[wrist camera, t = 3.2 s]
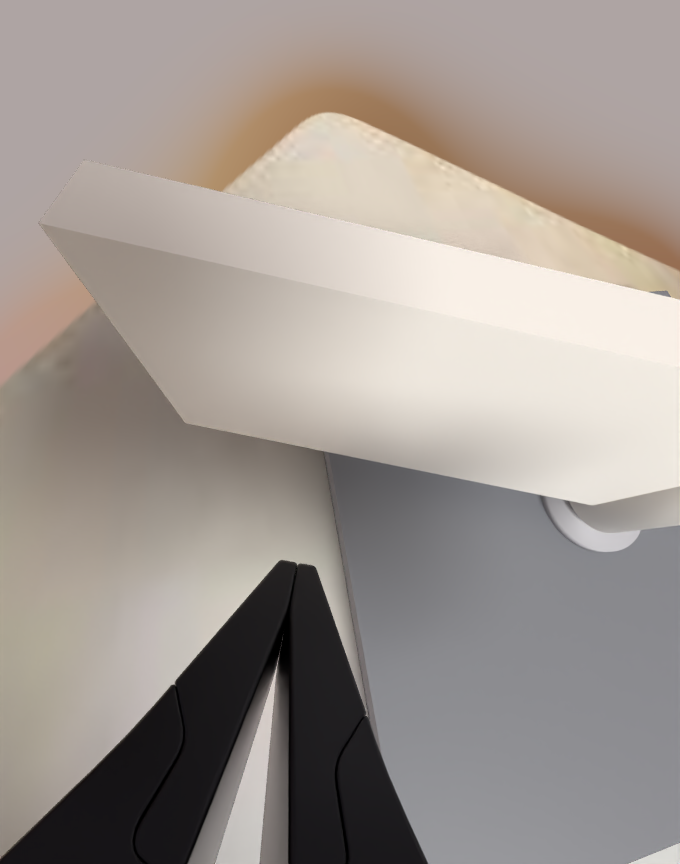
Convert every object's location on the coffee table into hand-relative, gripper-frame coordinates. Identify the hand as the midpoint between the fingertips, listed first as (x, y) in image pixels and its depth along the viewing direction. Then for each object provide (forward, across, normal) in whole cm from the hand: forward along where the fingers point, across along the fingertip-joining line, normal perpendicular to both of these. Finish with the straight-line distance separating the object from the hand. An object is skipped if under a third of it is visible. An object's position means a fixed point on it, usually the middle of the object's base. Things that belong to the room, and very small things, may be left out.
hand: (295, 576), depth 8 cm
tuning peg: (+7, -9, 0) cm, 11 cm away
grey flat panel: (+8, -12, +1) cm, 15 cm away
